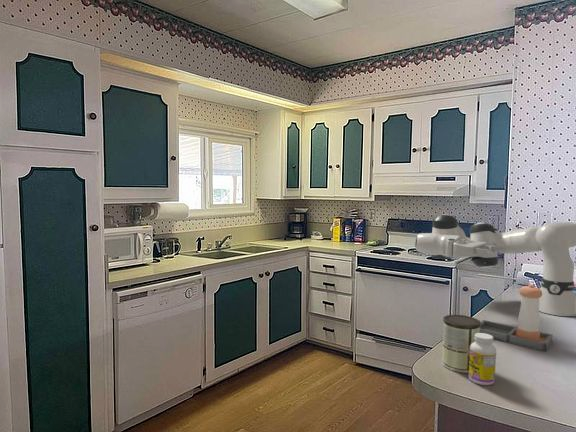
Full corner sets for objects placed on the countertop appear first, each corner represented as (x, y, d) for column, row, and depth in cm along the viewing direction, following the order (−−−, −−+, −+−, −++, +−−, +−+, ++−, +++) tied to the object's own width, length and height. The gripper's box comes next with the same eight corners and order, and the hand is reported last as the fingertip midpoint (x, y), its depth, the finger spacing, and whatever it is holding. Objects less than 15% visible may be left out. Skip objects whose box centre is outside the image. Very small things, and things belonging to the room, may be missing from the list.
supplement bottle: (463, 375, 122) (466, 331, 121) (486, 375, 123) (488, 331, 122) (476, 386, 115) (478, 340, 114) (499, 386, 116) (502, 339, 115)
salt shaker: (543, 343, 146) (546, 288, 144) (519, 341, 147) (523, 286, 145) (535, 335, 153) (538, 283, 151) (513, 334, 154) (516, 281, 152)
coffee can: (442, 356, 136) (444, 312, 134) (478, 362, 131) (480, 317, 130) (439, 368, 126) (441, 322, 125) (477, 375, 122) (480, 327, 121)
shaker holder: (483, 326, 165) (483, 320, 165) (552, 341, 150) (552, 334, 150) (473, 334, 156) (473, 327, 156) (545, 351, 141) (546, 344, 141)
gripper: (463, 251, 177) (499, 255, 168) (445, 257, 161) (484, 262, 152) (464, 236, 176) (500, 239, 167) (446, 240, 161) (485, 245, 152)
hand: (492, 250), depth 159 cm, fingers open, 8 cm apart
